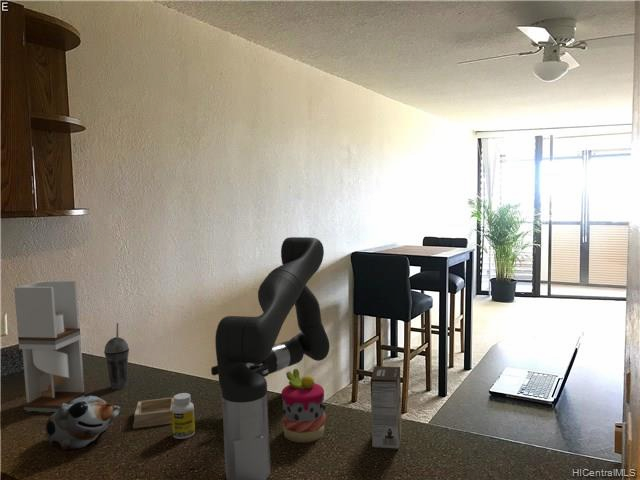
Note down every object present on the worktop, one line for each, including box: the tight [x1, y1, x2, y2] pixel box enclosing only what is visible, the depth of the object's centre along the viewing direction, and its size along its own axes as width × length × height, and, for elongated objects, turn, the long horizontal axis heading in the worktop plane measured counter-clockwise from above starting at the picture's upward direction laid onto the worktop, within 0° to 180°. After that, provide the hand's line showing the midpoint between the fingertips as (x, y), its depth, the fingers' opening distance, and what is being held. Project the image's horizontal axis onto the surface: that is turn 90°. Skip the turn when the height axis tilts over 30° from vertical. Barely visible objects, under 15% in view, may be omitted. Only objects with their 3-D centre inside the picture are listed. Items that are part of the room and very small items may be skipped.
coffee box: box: [370, 366, 403, 450], centre depth 119 cm, size 9×6×16 cm
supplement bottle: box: [171, 392, 196, 440], centre depth 125 cm, size 5×5×10 cm
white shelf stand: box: [13, 280, 86, 413], centre depth 146 cm, size 11×11×35 cm
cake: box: [280, 368, 327, 443], centre depth 124 cm, size 10×11×15 cm
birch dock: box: [132, 396, 175, 429], centre depth 136 cm, size 11×10×3 cm
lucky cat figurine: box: [45, 395, 122, 450], centre depth 124 cm, size 15×12×14 cm
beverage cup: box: [103, 322, 130, 390], centre depth 159 cm, size 7×7×20 cm
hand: (220, 375), depth 133 cm, fingers open, 8 cm apart
